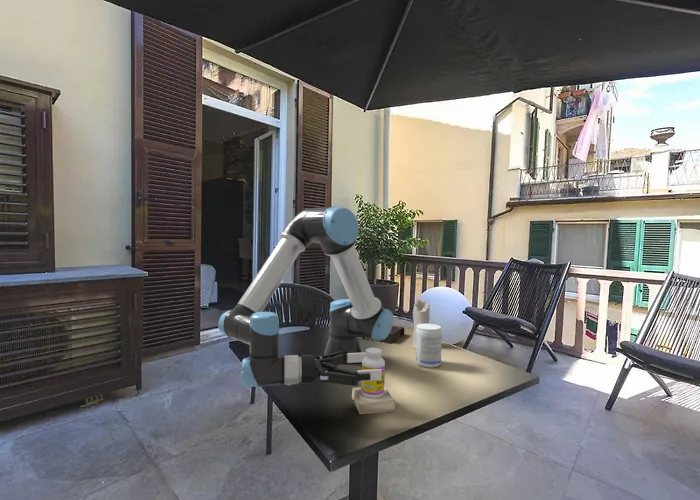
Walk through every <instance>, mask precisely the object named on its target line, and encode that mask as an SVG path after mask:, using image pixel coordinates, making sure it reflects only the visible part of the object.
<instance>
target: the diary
mask: <svg viewBox="0 0 700 500" xmlns="http://www.w3.org/2000/svg"><path fill="white" fill-rule="evenodd" d="M404 335H405V327H404V326H395V325H392V329H391V331H390V333H389V335H388V336H387V337H386V338H385V339H384V340H377V341H376V342H378V341H380V343H382V342H384V344H388V345H392V344H393V343H395V342H396V341H398V338H399V337H402V336H404ZM358 337H362V336H359V335H358ZM362 338H364V339H363V340H366V339H365V338H366V337H362ZM367 339H368V340H367V341H371V340H372V341H373V339H371V340H369V338H367Z"/></svg>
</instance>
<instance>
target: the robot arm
mask: <svg viewBox="0 0 700 500" xmlns="http://www.w3.org/2000/svg"><path fill="white" fill-rule="evenodd" d="M358 229H360V228H359V222H358V218H357V217H356V215H355V213H354V212H352V211H351V209H349V208H346V207H342V206H340V207H339V206H330V207H310V208H306V209H303V210H301V211H300V212H298V213H297V214H296V215H295V216H293V218H292V219H291V220H290V221H289V222H288V223H287V224H286V226H285V227H284V229H283V230H282V231H281V233H280V234H279V236H278V237H279V240H278V243H277V244H276V245H275V247H274V248H273V251H272V252H271V253H270V255H269V256H268V258H267V259H266V261H265V262H264V264H263V265H262V267H261V268H260V270H259V271H258V272H257V274H256V276H255V277H254V278H253V280H252V282H251V283H250V285H249V286H248V287H247V289H246V290H245V292H244V294H243V295H242V296H241V298H240V299H239V301H238V302H237V304H236V305H235V306H234V308H233V309H232V310H227V311H225V312H223V313H222V314H221V315H220V317H219V320H218V325H217V326H218V330H219V331H220V333H221V334H222V335H224V336H226V337H227V338H229V339H233V340H236V341H239V342H242V343H244V344H247V345H249V356H248V357H243V359H242V361H241V373H240V378H241V381H240V382H241V384H242V387H243V386H244V387H246V388H247V387H248V388H249V387H250V388H251V387H252V388H253V387H255V388H261V387H270V386H272V387H273V386H283V385H287V386H291V385H298V384H299V383H301V384H303V385H304V384H313V383H314V382H315V380H316V378H320V379H319V380H320V381H319V382H320V383H323V384H325V383H326V384H327V383H330V384H331V383H332V384H338V385H346V386H353V387H357V386H359V382H361V381H374V380H381V378H382V370H381V369H373V370H362V369H360V370H359V369H358V370H357V371H353V370H350V369H345V368H340V367H337V366H339V365H342V364H353V363H362V360H363V359H364V358H365V357H366V351H365V352H364V351H363V350H362V346H361V343H360V338H358V335H359V336H362V337H366V338H369V339H373V340H384V339H385V338H386V337H387V336H388V335H389V333H390V331H391V329H392V326H394V313H393V312H392V311H391V310H390V309H388V308H384V307H383V304H382V301H381V300H380V299H379V298H378V297H375V295H374V293H373V290H372V286H371V284H370V283H369V280H368V277H367V275H366V272H365V270H364V268H363V265H362V262H361V260H360V258H359V254H358V252H357V250H356V247H355V246H356V244H357V238H358V237H359V232H360V231H359V230H358ZM311 244H319V245H320V247H321V250H322V251H323V253H324V255H325V256H329V257H330V259H331V260H332V263H333V265H334V267H335V270H336V272H337V274H338V277H339V278H340V281H341V283H342V285H343V288H344V291H345V292H346V294H347V297H348V298H347V299H346V298H345V299H344V298H343V299H336V300H333V301H332V302H331V303H330V305H329V306H330V308H329V338H328V341H327V343H326V346H325V349H324V354H322V355H314V354H301V356H299V355H298V354H292V355H281V356H280V355H279V340H280V339H279V337H280V335H279V334H280V326H279V325H280V323H279V322H280V321H279V315H278V314H277V313H275V312H272V311H264V310H265V308H266V306H267V305H268V303H269V302H270V300H271V298H272V297H273V296H274V294H275V292H276V290H277V289H278V288H279V286H280V285H281V283H282V282H283V281H284V278H285V277H286V275H287V274H288V272H289V271H290V269H291V267H292V265H293V264H294V262H295V261H296V259H297V258H298V256H299V255H300V253H304V252H305V251H306V249H307V248H308V246H310V245H311ZM373 340H372V341H373Z"/></svg>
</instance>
